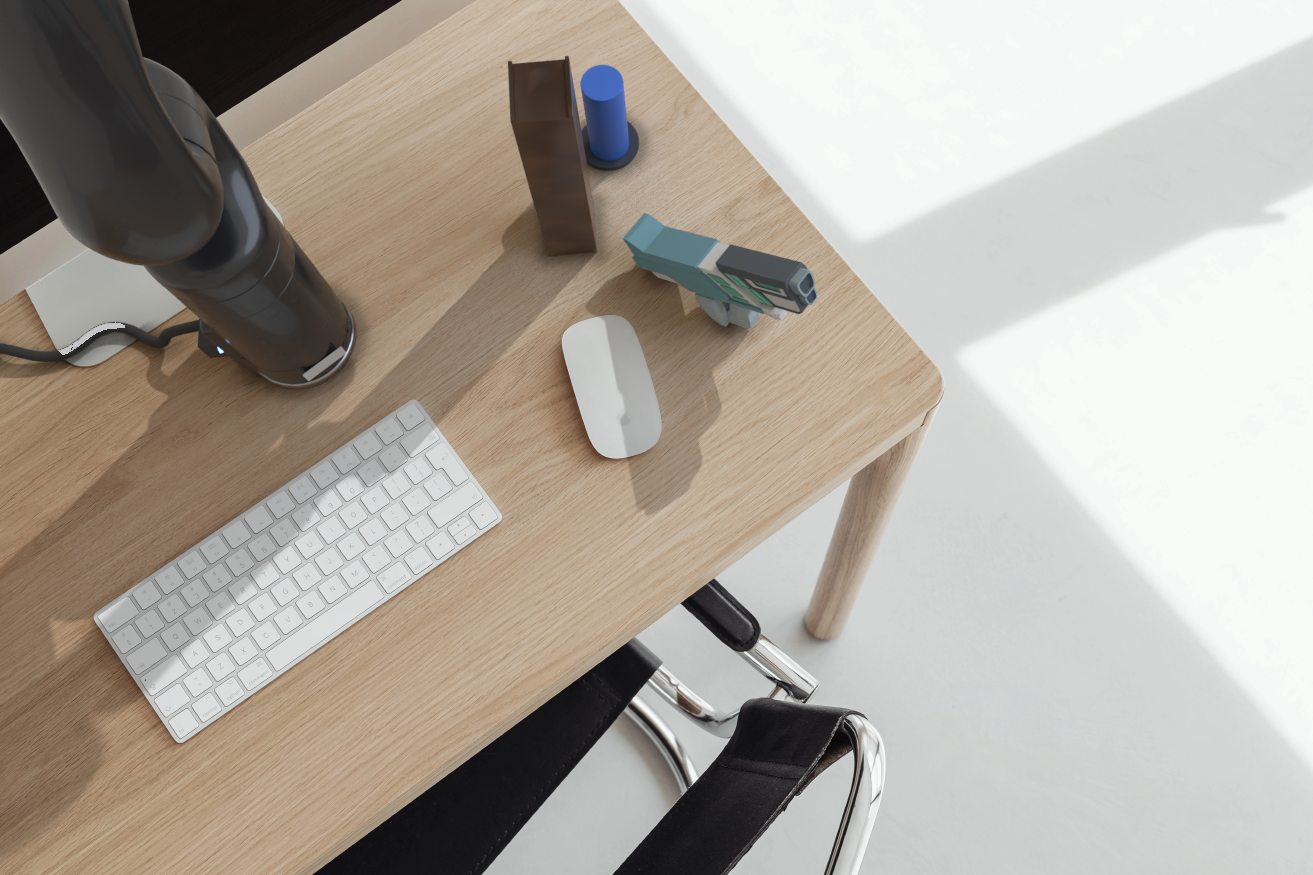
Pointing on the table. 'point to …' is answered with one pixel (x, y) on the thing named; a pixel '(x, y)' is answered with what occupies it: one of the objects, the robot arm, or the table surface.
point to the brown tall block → (553, 153)
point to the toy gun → (722, 273)
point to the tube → (605, 112)
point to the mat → (615, 164)
